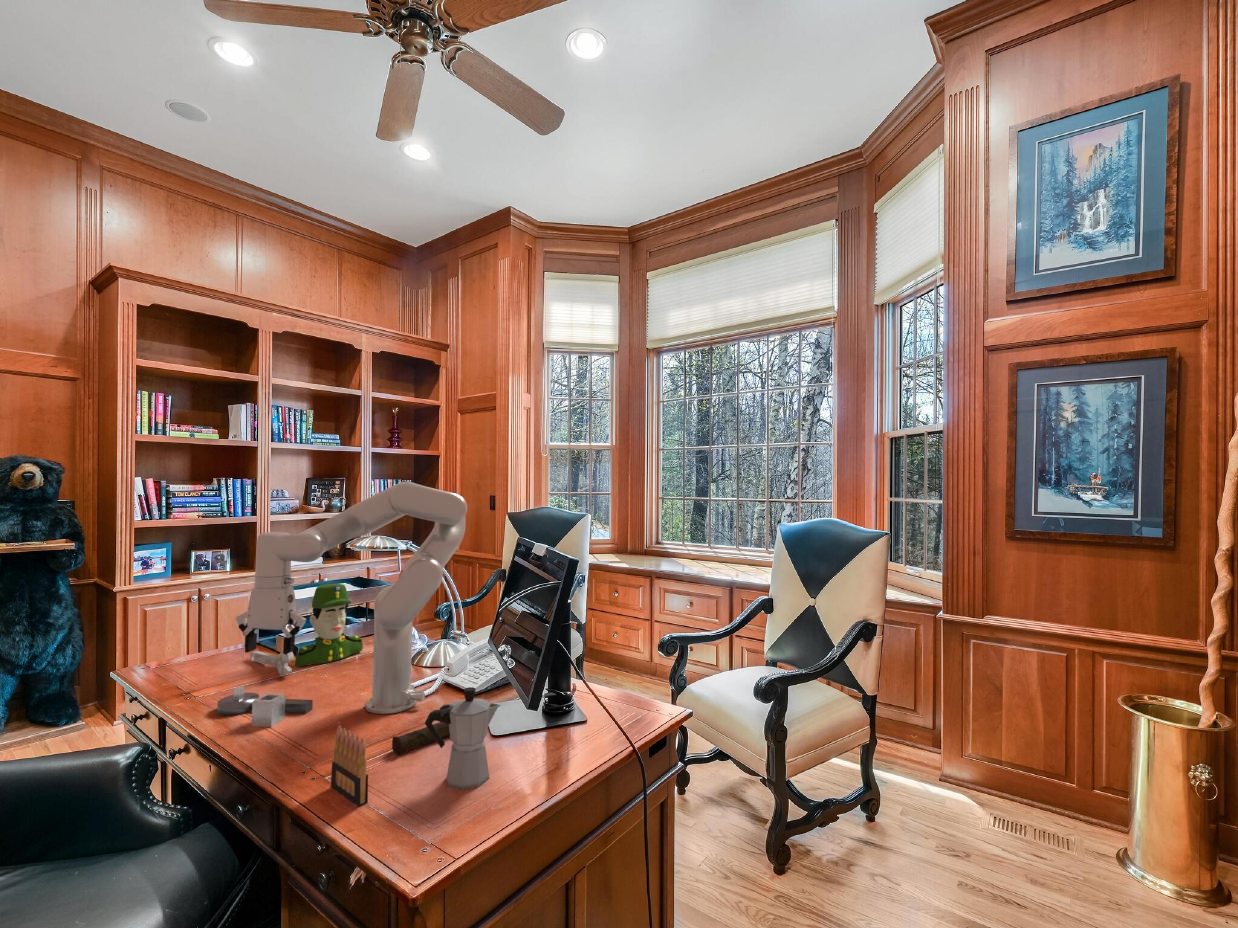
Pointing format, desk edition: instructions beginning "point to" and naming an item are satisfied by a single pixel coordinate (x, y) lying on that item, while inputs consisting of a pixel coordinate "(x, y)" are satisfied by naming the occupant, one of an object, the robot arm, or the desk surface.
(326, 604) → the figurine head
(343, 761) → the ammunition clip
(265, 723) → the socket
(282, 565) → the robot arm
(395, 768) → the desk surface
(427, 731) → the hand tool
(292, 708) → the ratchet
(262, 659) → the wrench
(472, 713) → the coffee maker
